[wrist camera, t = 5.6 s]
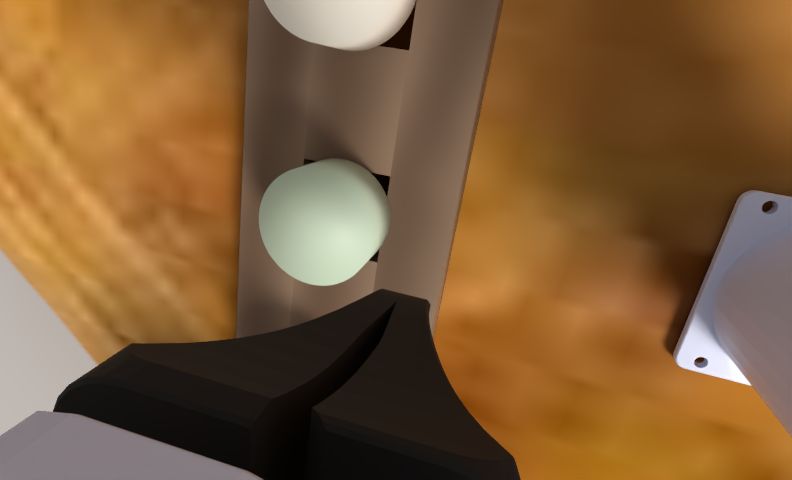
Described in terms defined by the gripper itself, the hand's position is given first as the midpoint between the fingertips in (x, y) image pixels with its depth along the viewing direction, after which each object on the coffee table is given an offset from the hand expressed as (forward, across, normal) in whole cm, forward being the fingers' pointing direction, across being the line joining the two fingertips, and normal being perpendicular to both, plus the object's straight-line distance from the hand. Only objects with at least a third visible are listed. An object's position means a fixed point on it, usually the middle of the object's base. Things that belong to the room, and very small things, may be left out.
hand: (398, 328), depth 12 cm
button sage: (+10, +5, 0) cm, 11 cm away
